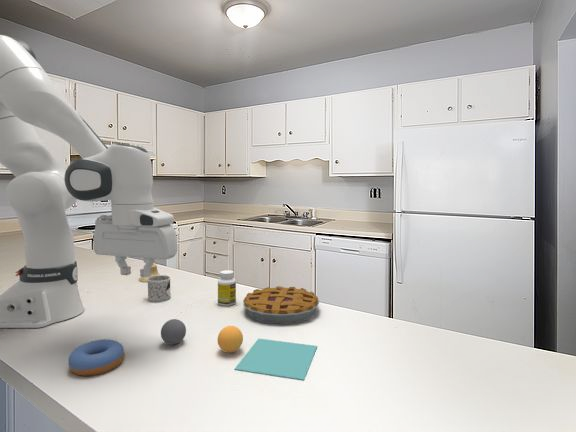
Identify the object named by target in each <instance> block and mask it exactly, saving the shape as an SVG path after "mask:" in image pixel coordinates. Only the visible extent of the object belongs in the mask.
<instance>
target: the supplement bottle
mask: <svg viewBox="0 0 576 432" xmlns="http://www.w3.org/2000/svg"><path fill="white" fill-rule="evenodd" d="M234 276H235V273H234V271H233V270H227V269H226V270H221V271H220V272H219V277H220V278H219V279H218V280H217V304H218V305H219V306H223V307H230V306H233V305H235V304H236V302H237V280H236V278H234Z"/></svg>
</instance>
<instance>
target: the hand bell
mask: <svg viewBox="0 0 576 432" xmlns="http://www.w3.org/2000/svg"><path fill="white" fill-rule="evenodd" d="M150 272H151V274H150V276H149V277H141V276H140V277H139V278H138V282H140V283H148V278H150V277H153V276H160V273H159V271H158V266H157V264H155V263H153V265H152V267H151V268H150Z"/></svg>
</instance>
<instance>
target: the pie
mask: <svg viewBox="0 0 576 432" xmlns="http://www.w3.org/2000/svg"><path fill="white" fill-rule="evenodd" d="M242 304H243V305H242V306H243V307H244V308H245V309H246V311H247V313H248V315H249V317H251V318H252V319H253V320H257V321H259V322H263V323H268V324H269V323H272V324H291V323H292V324H293V323H295V324H296V323H299V322H303V321H307V320H308V319H309V318H311V317H312V315H314V312H315V310H316V309H318V307H319V304H320V300H319V298H318V295H315V293H314V292H313V291H307V289H305V288H303V287H301V288H296V287H295V286H290V287H284V286H276V287H269V286H267V287H264V288H263V289H259V288H257V289H254V290H253V292H248V293H246V295H245V296H244V299H243V301H242Z"/></svg>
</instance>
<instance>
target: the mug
mask: <svg viewBox="0 0 576 432" xmlns="http://www.w3.org/2000/svg"><path fill="white" fill-rule="evenodd" d="M171 297H172V296H171V276H170V275H160V276H153V277H150V278H148V282H147V300H148V302H150V303H164V302H168V301H169V300H171V299H172V298H171Z"/></svg>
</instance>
